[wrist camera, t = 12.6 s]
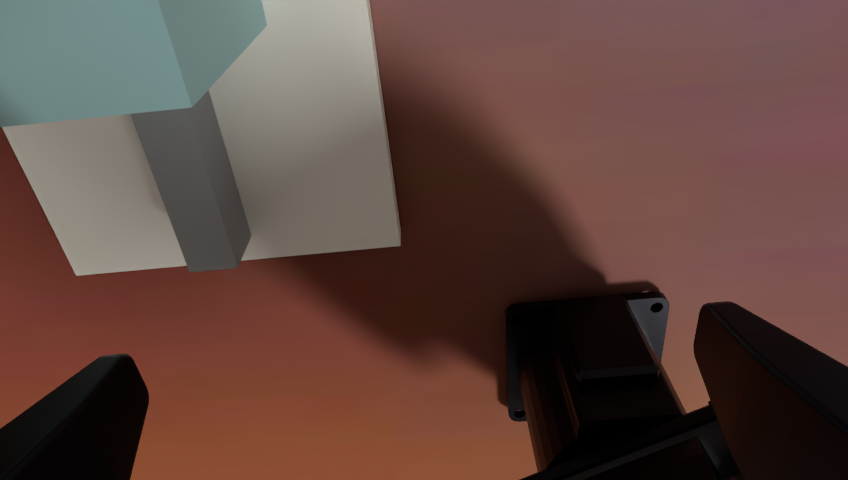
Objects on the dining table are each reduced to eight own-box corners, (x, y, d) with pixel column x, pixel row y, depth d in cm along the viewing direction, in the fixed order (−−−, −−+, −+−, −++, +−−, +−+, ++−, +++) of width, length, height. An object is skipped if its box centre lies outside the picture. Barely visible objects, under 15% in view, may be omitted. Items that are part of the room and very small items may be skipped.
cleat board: (401, 231, 22) (399, 297, 19) (88, 260, 23) (32, 329, 19) (302, -483, 13) (263, -611, 9) (-233, -410, 13) (-456, -507, 10)
